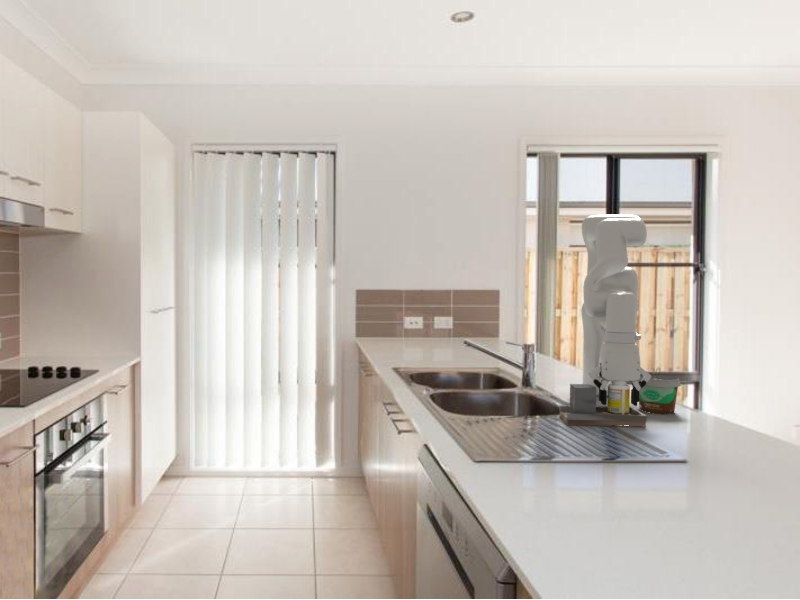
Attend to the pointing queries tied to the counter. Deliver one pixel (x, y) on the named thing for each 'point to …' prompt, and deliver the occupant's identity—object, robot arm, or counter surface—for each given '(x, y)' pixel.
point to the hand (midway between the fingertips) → (618, 404)
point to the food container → (659, 396)
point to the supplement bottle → (618, 398)
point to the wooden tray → (595, 410)
